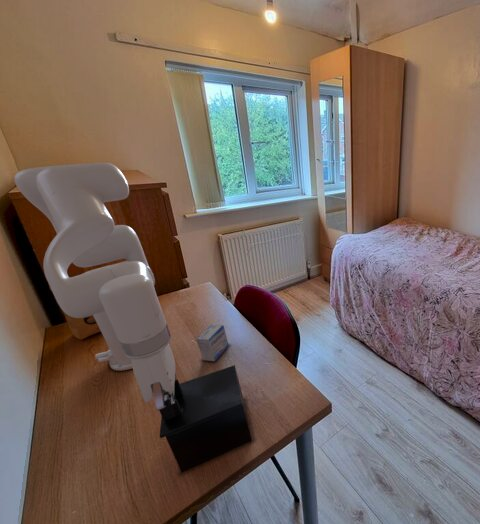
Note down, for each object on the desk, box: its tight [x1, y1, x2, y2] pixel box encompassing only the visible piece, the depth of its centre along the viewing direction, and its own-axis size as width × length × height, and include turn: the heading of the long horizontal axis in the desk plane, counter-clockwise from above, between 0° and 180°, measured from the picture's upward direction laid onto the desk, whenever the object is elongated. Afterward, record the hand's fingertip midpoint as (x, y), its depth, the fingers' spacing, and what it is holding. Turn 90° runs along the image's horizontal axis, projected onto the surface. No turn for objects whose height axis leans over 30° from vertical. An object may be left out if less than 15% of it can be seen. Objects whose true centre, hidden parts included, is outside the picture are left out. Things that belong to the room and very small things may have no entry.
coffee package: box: [48, 284, 101, 340], centre depth 102 cm, size 10×12×22 cm
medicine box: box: [195, 323, 229, 362], centre depth 92 cm, size 8×4×9 cm, turn 168°
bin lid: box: [159, 364, 243, 439], centre depth 63 cm, size 15×13×5 cm
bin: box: [164, 370, 253, 474], centre depth 66 cm, size 15×13×12 cm
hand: (173, 405), depth 61 cm, fingers closed on bin lid, 5 cm apart
